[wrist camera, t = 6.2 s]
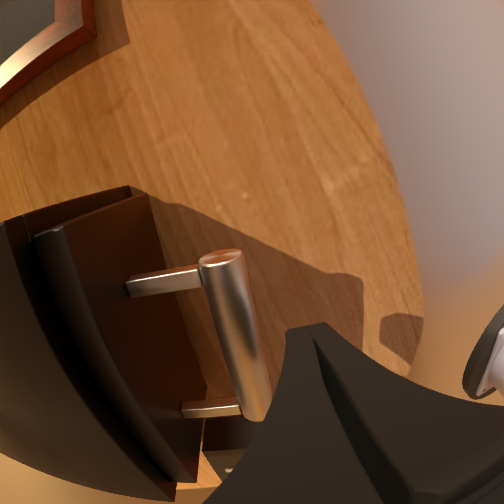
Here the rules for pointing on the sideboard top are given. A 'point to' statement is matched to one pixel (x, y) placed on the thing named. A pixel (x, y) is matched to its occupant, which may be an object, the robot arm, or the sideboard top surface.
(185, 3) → the sideboard top surface
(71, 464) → the black box
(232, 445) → the timer panel
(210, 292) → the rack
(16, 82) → the picture frame
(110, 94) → the sideboard top surface
